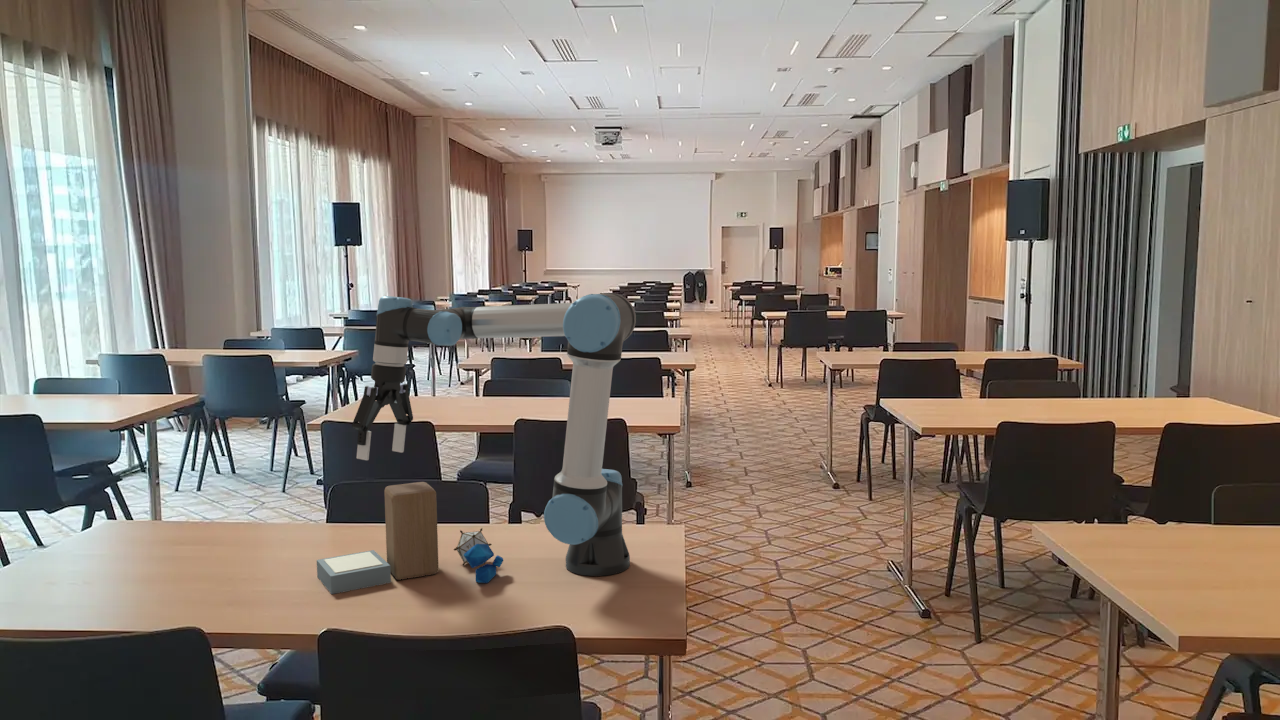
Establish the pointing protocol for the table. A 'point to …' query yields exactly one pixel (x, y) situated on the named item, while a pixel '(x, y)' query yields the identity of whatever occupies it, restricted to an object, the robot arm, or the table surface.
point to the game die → (469, 542)
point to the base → (353, 571)
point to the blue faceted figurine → (480, 556)
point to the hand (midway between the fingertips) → (380, 455)
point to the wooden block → (411, 530)
